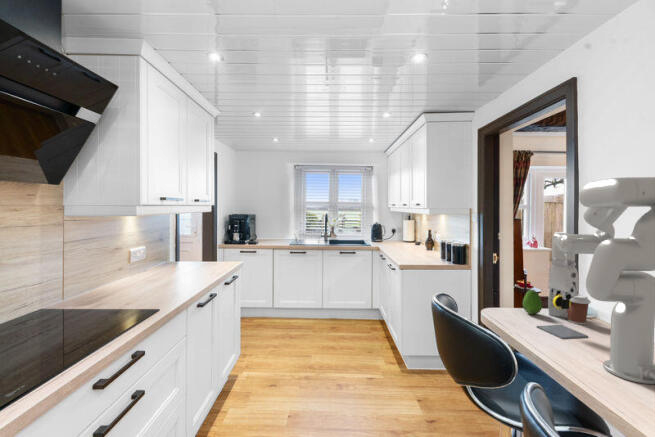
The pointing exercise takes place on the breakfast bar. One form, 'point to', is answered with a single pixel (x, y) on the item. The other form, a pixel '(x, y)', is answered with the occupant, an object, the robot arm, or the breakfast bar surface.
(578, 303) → the coffee cup
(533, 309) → the avocado
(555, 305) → the watch
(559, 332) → the slate coaster
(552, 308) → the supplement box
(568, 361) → the breakfast bar surface
